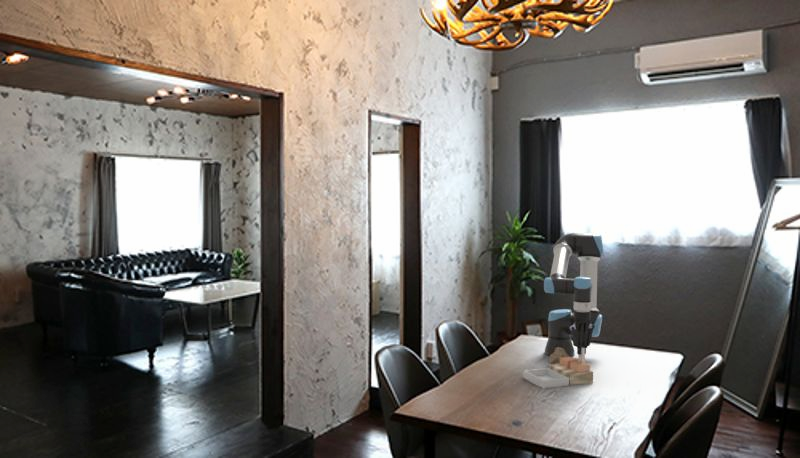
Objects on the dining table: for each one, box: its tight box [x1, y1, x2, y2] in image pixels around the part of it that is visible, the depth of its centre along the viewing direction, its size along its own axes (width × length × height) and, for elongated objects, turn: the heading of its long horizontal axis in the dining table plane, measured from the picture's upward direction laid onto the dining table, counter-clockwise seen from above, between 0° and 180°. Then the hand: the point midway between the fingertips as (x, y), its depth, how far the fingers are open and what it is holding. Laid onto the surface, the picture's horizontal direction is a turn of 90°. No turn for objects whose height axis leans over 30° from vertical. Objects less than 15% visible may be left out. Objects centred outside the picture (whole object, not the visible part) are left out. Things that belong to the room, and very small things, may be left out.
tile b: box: [570, 361, 591, 372], centre depth 256 cm, size 6×6×3 cm
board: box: [548, 363, 594, 386], centre depth 260 cm, size 16×12×5 cm
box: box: [522, 367, 570, 390], centre depth 255 cm, size 16×13×4 cm
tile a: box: [560, 356, 579, 368], centre depth 264 cm, size 6×6×3 cm
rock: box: [548, 347, 569, 366], centre depth 275 cm, size 11×12×10 cm
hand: (581, 361), depth 266 cm, fingers closed
